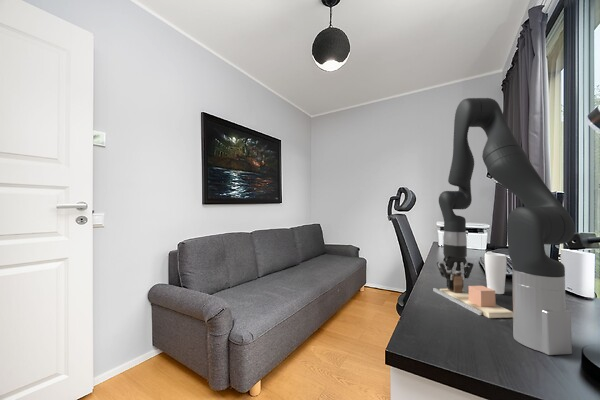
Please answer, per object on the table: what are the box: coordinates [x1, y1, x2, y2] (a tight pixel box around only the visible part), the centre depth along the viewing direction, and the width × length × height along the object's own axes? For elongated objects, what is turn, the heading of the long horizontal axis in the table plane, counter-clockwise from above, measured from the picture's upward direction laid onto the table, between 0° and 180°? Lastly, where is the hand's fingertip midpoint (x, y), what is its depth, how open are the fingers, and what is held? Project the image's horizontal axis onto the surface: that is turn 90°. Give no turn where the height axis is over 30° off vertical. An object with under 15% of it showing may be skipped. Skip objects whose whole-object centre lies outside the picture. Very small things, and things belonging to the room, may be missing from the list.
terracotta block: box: [468, 285, 496, 307], centre depth 81 cm, size 5×5×5 cm
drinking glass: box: [484, 252, 507, 295], centre depth 97 cm, size 7×7×15 cm
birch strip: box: [439, 273, 513, 319], centre depth 85 cm, size 22×8×8 cm, turn 6°
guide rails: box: [432, 287, 511, 316], centre depth 87 cm, size 22×10×1 cm, turn 6°
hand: (455, 289), depth 92 cm, fingers closed on birch strip, 3 cm apart
